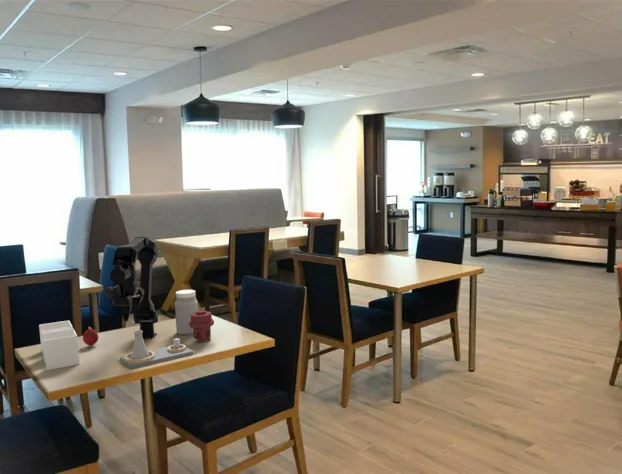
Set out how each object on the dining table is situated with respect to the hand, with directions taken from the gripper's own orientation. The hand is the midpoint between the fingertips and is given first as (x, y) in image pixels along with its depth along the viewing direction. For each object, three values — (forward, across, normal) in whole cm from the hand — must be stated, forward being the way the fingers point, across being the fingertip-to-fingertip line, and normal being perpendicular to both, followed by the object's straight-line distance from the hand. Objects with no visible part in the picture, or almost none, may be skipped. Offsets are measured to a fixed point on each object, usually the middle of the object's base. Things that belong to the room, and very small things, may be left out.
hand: (130, 317), depth 219 cm
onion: (+13, -6, -19) cm, 24 cm away
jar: (+13, -23, +16) cm, 31 cm away
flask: (+12, +13, +7) cm, 19 cm away
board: (+13, +9, +12) cm, 20 cm away
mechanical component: (+13, -11, +25) cm, 30 cm away
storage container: (+14, +7, -26) cm, 30 cm away
